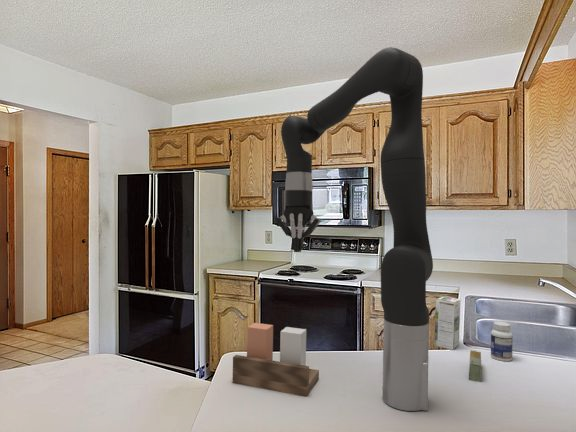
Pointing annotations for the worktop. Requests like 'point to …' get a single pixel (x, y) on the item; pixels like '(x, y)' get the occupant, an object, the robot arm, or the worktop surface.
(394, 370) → the robot arm
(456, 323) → the syrup box
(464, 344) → the worktop surface
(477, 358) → the medication box
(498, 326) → the pill bottle
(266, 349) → the orange tall block
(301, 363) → the grey rectangular block
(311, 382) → the console
